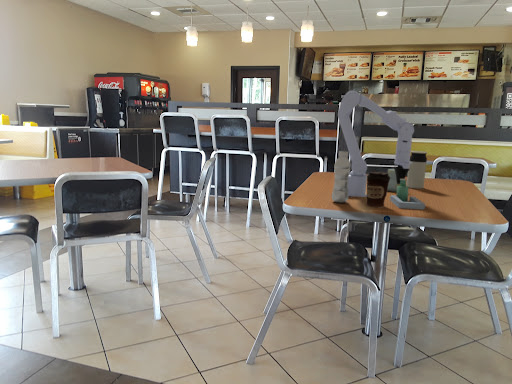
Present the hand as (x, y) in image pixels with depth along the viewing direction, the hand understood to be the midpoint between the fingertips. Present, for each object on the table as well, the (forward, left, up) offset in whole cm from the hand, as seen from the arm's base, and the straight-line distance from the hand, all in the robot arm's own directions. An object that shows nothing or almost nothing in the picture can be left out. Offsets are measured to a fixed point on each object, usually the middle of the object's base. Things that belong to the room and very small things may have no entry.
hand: (399, 183), depth 167 cm
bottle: (0, -6, -6) cm, 8 cm away
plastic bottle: (-26, -15, -7) cm, 31 cm away
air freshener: (+2, +19, -7) cm, 20 cm away
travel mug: (+16, +32, -7) cm, 37 cm away
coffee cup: (-13, -18, -7) cm, 23 cm away
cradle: (0, -12, -6) cm, 14 cm away
